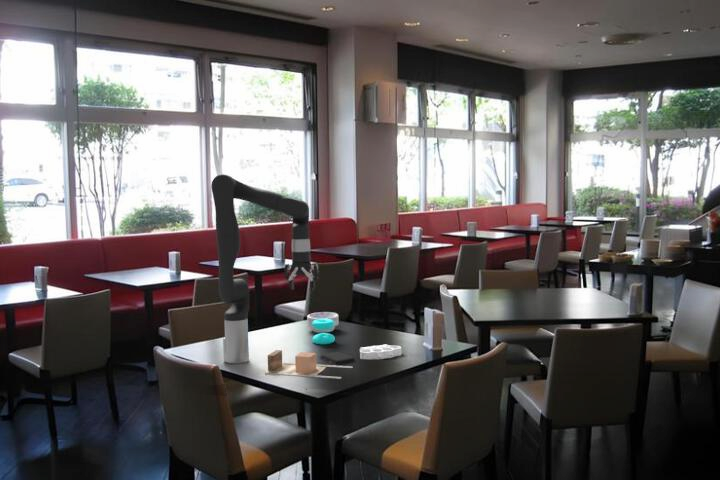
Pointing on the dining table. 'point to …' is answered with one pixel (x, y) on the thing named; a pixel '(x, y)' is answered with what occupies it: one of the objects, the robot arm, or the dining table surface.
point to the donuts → (322, 325)
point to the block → (305, 362)
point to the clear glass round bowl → (323, 316)
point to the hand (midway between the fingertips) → (302, 289)
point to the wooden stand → (285, 365)
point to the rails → (312, 375)
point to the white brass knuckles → (380, 352)
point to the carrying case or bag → (337, 358)
